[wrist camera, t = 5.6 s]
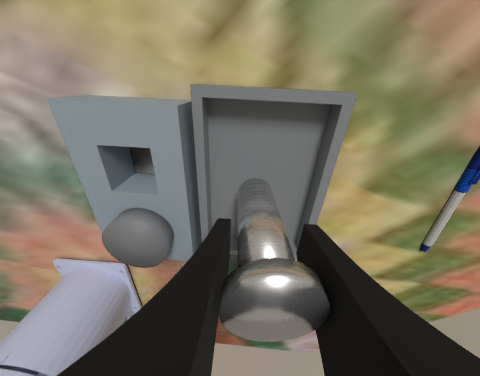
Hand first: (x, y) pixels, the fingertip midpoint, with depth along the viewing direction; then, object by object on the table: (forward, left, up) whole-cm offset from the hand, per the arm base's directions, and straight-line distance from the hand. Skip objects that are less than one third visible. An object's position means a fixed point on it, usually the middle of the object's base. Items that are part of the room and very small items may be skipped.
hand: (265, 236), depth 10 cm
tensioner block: (0, +8, -6) cm, 11 cm away
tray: (0, 0, -6) cm, 6 cm away
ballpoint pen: (-1, -16, -7) cm, 17 cm away
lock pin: (0, 0, -4) cm, 4 cm away
